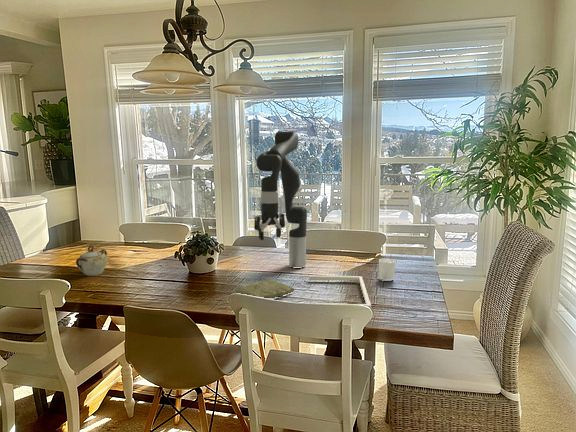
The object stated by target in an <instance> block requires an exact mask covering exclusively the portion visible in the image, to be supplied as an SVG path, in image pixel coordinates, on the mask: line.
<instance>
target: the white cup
mask: <svg viewBox="0 0 576 432" xmlns="http://www.w3.org/2000/svg"><path fill="white" fill-rule="evenodd" d="M395 268H396V259H393V258H387V257H386V258H380V259H378V274H379V277H380V278H382V279H393V278H394V277H395V271H396V269H395ZM379 277H378V278H379ZM394 279H395V278H394ZM394 279H393V280H394Z"/></svg>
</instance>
